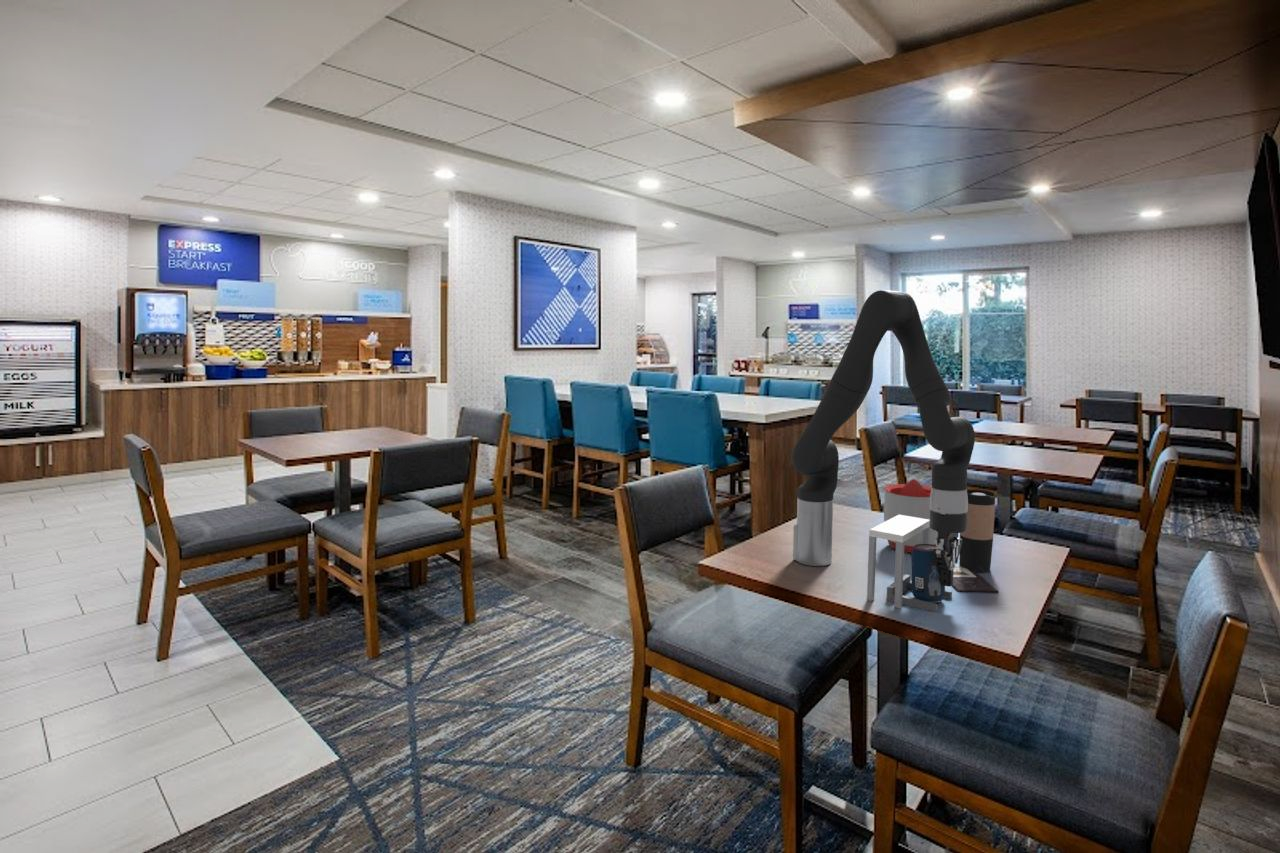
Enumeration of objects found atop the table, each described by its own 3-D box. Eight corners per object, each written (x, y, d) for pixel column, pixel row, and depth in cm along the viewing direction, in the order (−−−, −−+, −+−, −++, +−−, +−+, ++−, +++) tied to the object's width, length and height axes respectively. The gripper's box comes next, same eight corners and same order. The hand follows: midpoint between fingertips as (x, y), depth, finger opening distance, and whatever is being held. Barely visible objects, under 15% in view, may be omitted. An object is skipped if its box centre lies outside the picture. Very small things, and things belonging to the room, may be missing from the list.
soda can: (923, 591, 155) (923, 541, 154) (951, 599, 149) (950, 547, 149) (905, 598, 152) (904, 546, 151) (933, 606, 146) (932, 552, 145)
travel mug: (954, 562, 175) (958, 488, 173) (986, 564, 174) (990, 489, 171) (962, 572, 168) (966, 495, 166) (995, 574, 167) (1000, 496, 164)
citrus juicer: (958, 556, 181) (961, 484, 178) (895, 557, 180) (898, 485, 178) (930, 539, 196) (933, 473, 194) (873, 540, 196) (875, 474, 193)
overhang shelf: (866, 599, 151) (869, 529, 149) (896, 579, 163) (898, 514, 161) (930, 616, 141) (933, 541, 139) (956, 593, 154) (959, 524, 152)
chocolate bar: (958, 590, 155) (932, 564, 173) (958, 594, 155) (931, 568, 173) (998, 590, 154) (967, 565, 172) (998, 594, 154) (967, 568, 172)
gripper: (940, 500, 152) (939, 573, 154) (920, 511, 142) (918, 589, 144) (976, 505, 147) (973, 580, 149) (957, 516, 137) (955, 597, 139)
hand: (946, 584), depth 147 cm, fingers closed
